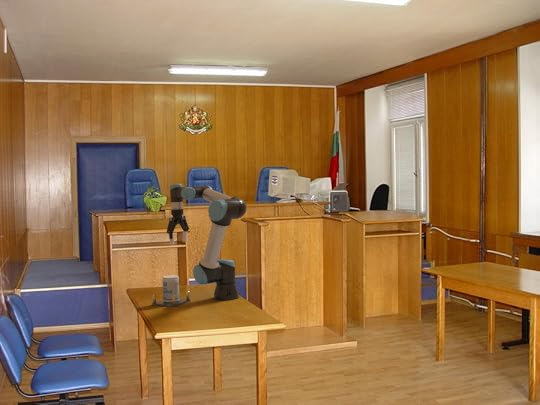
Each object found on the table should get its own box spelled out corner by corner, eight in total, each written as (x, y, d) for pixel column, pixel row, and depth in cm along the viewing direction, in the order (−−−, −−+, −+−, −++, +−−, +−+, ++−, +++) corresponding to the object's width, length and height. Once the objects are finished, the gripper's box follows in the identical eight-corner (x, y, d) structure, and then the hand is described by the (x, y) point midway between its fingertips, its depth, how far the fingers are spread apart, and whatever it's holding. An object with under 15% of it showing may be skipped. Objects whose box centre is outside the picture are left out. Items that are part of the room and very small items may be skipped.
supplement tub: (160, 303, 354) (159, 277, 353) (166, 299, 363) (164, 275, 363) (177, 302, 352) (175, 277, 352) (181, 299, 362) (180, 274, 361)
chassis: (190, 301, 361) (190, 291, 361) (174, 307, 347) (173, 296, 347) (168, 299, 368) (168, 289, 368) (151, 305, 354) (151, 294, 354)
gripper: (183, 207, 391) (185, 240, 393) (159, 210, 369) (161, 245, 370) (193, 207, 388) (195, 240, 389) (169, 210, 366) (171, 245, 367)
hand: (178, 243), depth 380 cm, fingers open, 13 cm apart
